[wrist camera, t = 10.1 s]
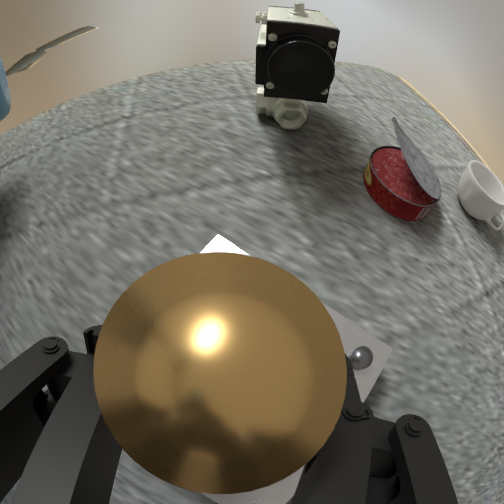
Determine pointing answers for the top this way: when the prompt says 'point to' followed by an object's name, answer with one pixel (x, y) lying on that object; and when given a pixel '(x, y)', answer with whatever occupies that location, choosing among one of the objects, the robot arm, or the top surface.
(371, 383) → the jig
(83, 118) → the top surface
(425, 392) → the top surface
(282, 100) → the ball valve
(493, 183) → the teacup
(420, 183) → the canned food
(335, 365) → the gold metal cylinder
